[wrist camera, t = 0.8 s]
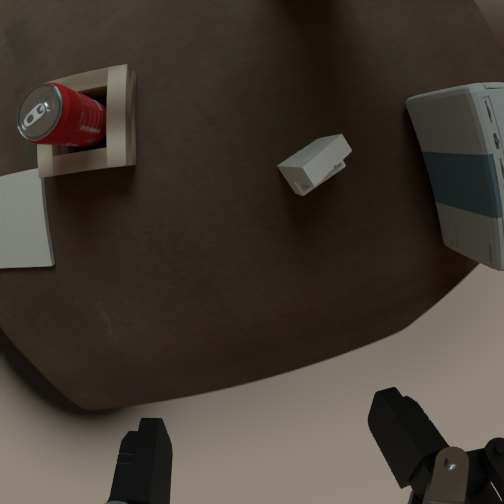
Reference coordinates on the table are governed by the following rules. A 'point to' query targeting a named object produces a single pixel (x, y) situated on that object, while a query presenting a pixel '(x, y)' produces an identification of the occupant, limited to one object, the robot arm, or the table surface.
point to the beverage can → (61, 117)
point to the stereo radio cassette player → (465, 165)
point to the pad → (24, 221)
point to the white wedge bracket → (315, 163)
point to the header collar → (117, 124)
